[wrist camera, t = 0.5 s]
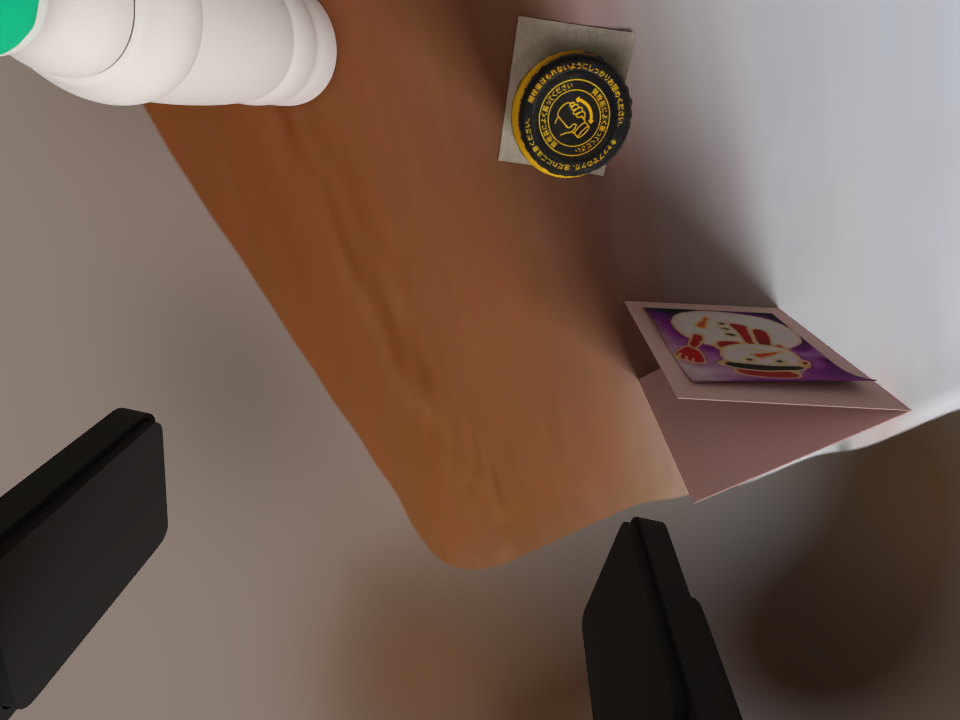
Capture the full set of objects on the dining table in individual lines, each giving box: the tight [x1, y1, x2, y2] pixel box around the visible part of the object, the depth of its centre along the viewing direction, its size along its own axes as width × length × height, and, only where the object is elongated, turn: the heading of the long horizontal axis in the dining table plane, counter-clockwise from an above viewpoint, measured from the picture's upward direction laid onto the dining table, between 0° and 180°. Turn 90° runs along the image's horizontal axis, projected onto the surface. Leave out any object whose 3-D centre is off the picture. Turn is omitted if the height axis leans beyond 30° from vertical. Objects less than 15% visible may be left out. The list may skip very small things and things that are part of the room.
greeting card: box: [624, 301, 912, 503], centre depth 35 cm, size 11×7×15 cm, turn 89°
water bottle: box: [0, 0, 337, 106], centre depth 24 cm, size 7×7×25 cm
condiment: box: [498, 16, 636, 178], centre depth 30 cm, size 7×8×12 cm
